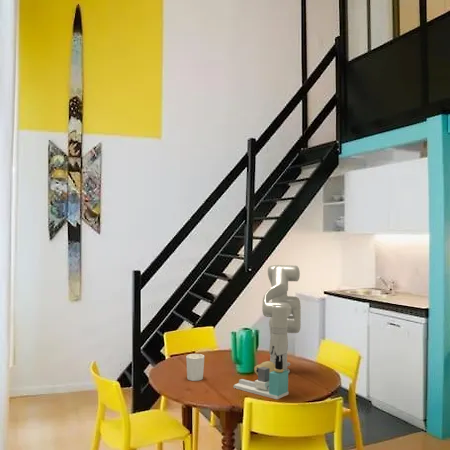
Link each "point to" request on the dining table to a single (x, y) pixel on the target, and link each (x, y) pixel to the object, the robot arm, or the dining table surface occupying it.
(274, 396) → the rail board
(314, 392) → the dining table surface
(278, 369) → the gauge plunger
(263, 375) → the carriage
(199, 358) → the candle holder
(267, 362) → the toy pig
